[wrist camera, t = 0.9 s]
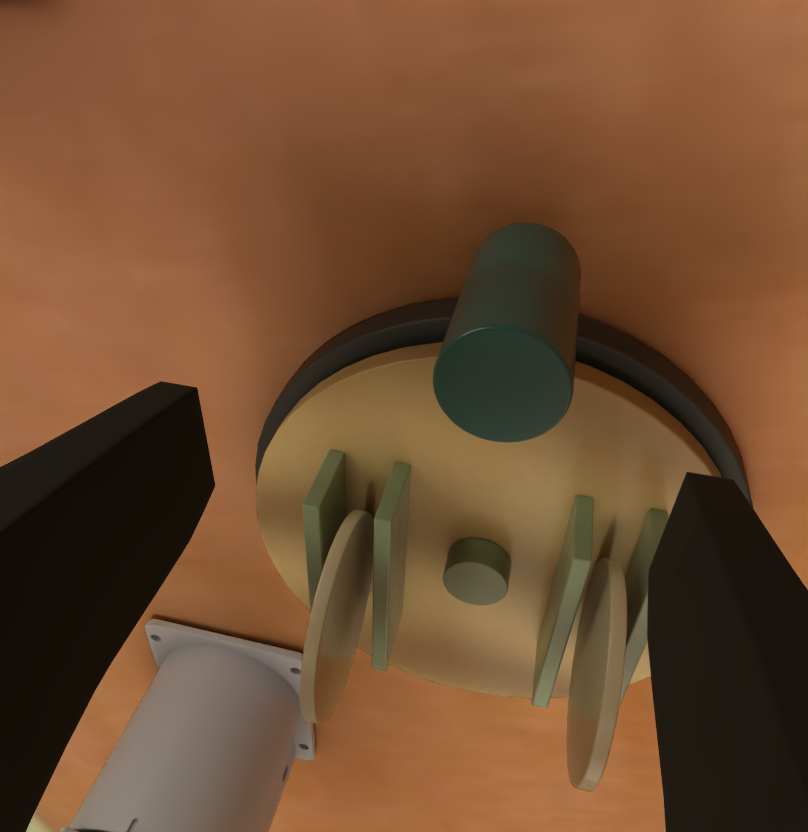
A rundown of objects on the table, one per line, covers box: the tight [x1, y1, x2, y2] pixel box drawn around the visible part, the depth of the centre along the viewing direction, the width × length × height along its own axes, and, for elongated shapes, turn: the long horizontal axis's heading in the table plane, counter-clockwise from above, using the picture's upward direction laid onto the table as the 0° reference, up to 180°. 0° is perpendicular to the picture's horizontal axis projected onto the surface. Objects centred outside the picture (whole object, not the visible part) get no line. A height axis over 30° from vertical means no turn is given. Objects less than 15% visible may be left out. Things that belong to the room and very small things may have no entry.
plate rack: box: [256, 223, 722, 792], centre depth 19 cm, size 18×15×7 cm
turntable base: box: [256, 298, 753, 508], centre depth 23 cm, size 16×16×1 cm
